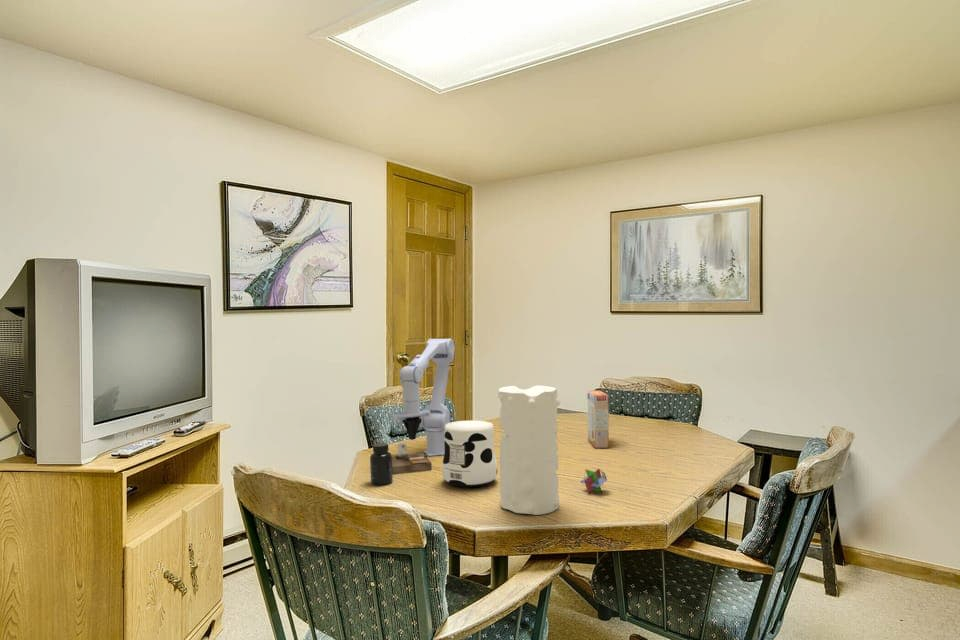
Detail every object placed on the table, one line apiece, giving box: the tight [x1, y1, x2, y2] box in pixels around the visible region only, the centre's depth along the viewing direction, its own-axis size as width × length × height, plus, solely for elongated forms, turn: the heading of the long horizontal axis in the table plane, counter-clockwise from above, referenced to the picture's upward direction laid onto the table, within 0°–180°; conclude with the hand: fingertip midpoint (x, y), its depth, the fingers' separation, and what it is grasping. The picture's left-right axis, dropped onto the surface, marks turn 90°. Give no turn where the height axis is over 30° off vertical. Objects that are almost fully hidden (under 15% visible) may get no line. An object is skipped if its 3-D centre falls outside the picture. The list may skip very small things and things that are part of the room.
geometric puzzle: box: [580, 468, 608, 494], centre depth 157 cm, size 7×7×8 cm
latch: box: [409, 457, 428, 464], centre depth 184 cm, size 5×6×1 cm
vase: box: [497, 384, 561, 516], centre depth 146 cm, size 17×16×32 cm
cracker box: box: [586, 390, 610, 449], centre depth 216 cm, size 14×6×21 cm, turn 179°
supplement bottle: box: [369, 442, 394, 487], centre depth 169 cm, size 7×7×12 cm
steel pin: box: [397, 443, 407, 459], centre depth 191 cm, size 3×3×7 cm
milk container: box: [441, 420, 498, 488], centre depth 168 cm, size 17×17×18 cm
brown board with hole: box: [391, 451, 433, 475], centre depth 188 cm, size 14×16×4 cm
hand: (412, 439), depth 189 cm, fingers closed
